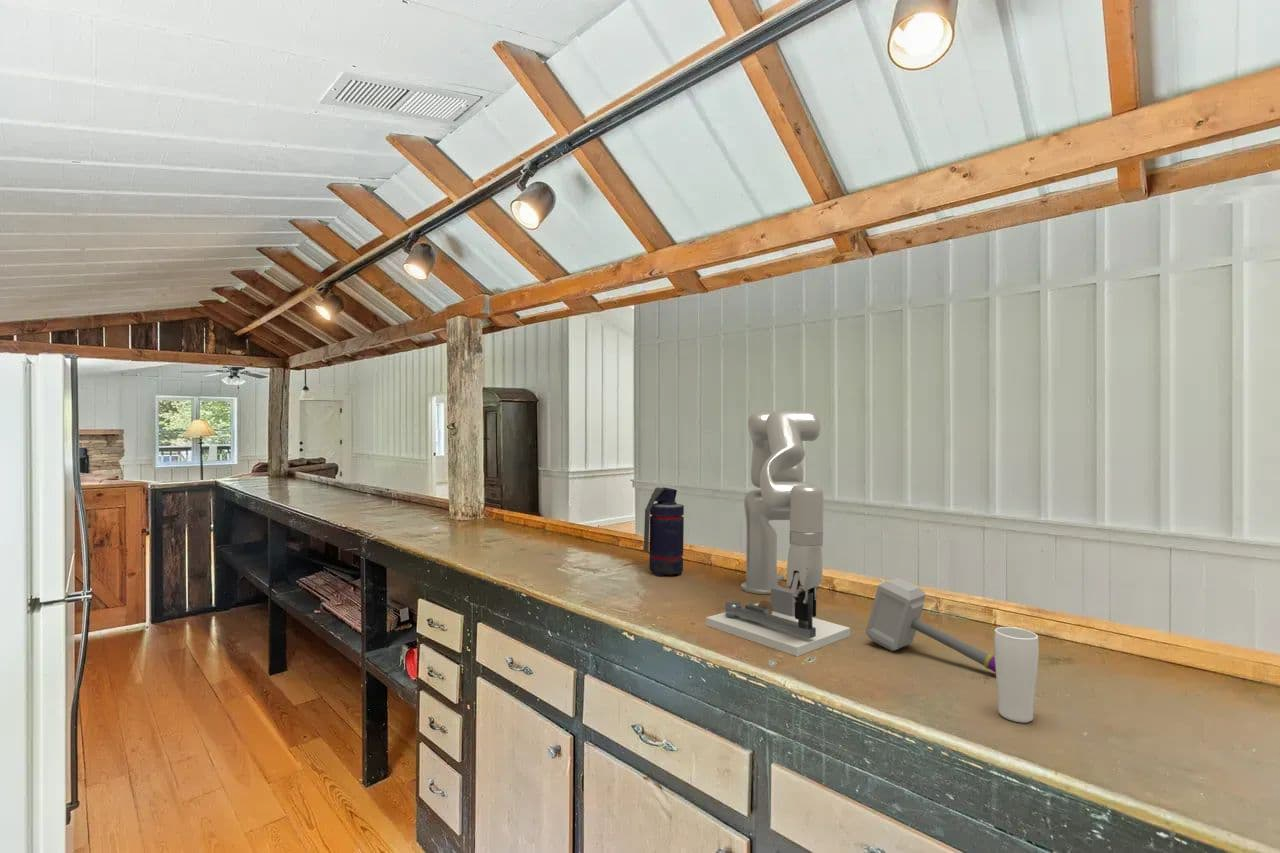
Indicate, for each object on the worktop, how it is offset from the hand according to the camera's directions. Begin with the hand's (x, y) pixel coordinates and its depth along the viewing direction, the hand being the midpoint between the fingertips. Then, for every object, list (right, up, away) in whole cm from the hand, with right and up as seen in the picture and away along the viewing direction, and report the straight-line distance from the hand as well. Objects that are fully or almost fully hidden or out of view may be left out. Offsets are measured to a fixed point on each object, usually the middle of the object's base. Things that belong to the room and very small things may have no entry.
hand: (805, 616), depth 143 cm
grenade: (-30, -8, +73) cm, 79 cm away
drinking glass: (+28, -8, -34) cm, 45 cm away
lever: (-7, -5, +9) cm, 12 cm away
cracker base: (-4, -7, +12) cm, 15 cm away
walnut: (-6, -5, +16) cm, 18 cm away
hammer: (+28, -8, -7) cm, 30 cm away
